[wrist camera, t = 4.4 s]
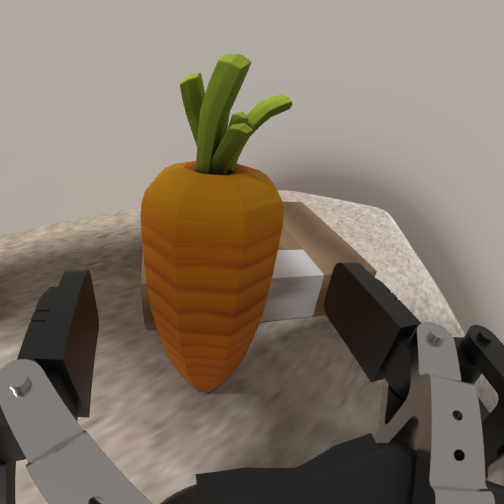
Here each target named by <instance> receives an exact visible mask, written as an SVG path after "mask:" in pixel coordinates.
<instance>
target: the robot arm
mask: <svg viewBox="0 0 504 504" xmlns="http://www.w3.org/2000/svg"><path fill="white" fill-rule="evenodd" d="M324 308H325V313H326V315H327V317H328V318H329V320H330V321H331V323H332V324H333V326H334V327H335V329H336V330H337V332H338V333H339V335H340V336H341V338H342V339H343V341H344V342H345V344H346V345H347V346H348V348H349V349H350V351H351V352H352V354H353V355H354V357H355V358H356V360H357V361H358V363H359V364H360V366H361V367H362V369H363V370H364V372H365V374H366V375H367V377H368V378H369V380H370V381H371V382H374V381H377V380H381V379H384V378H385V379H386V381H387V382H386V384H385V385H384V387H383V394H382V403H381V411H380V418H379V425H378V431H377V434H376V437H375V439H374V438H373V436H372V434H371V433H370V434H367V435H364V436H362V437H359V438H356V439H353V440H350V441H347V442H344V443H341V444H338V445H335V446H333V447H332V448H330V449H329V450H327V451H325V452H324V453H322V454H320V455H319V456H317V457H315V458H314V459H312V460H310V461H308V462H307V463H305V464H303V465H301V466H299V467H296V468H239V469H233V470H226V471H219V472H211V473H202V474H196V485H193V486H190V487H187V488H185V489H183V490H181V491H179V492H176V493H175V494H173V495H172V496H170V497H168V498H167V499H165V500H164V501H163V502H162V503H160V504H504V345H503V344H502V343H501V342H500V341H499V339H498V338H497V337H496V336H495V335H494V334H493V333H492V332H491V331H489V330H488V329H486V328H485V327H482V326H478V325H474V326H471V327H470V328H469V330H468V332H467V333H466V335H465V337H464V338H459V337H452V335H451V334H450V333H449V332H448V331H447V330H446V329H445V328H443V327H442V326H440V325H438V324H435V323H430V322H425V323H422V324H421V323H420V321H419V320H418V319H417V318H416V317H415V316H414V315H413V314H412V313H411V312H410V311H409V310H408V309H407V308H406V306H405V305H404V304H403V303H402V302H401V301H400V300H397V297H396V296H395V295H394V294H393V293H391V292H390V290H389V289H388V288H387V287H386V286H385V285H384V284H383V283H382V282H381V281H379V280H378V279H376V278H375V277H373V276H372V275H371V274H370V273H369V272H368V271H367V270H366V269H365V268H364V267H363V266H362V265H361V264H360V263H358V262H342V263H337V264H336V265H335V267H334V269H333V272H332V276H331V279H330V283H329V286H328V290H327V293H326V296H325V301H324ZM98 330H99V319H98V311H97V306H96V301H95V296H94V291H93V285H92V280H91V275H90V272H89V270H70V271H65V272H64V274H63V277H62V279H61V282H60V284H59V287H50V288H49V289H48V290H47V291H46V292H45V293H44V294H43V295H42V296H41V297H40V299H39V302H38V304H37V307H36V309H35V312H34V314H33V316H32V319H31V322H30V324H29V327H28V330H27V332H26V335H25V338H24V341H23V343H22V346H21V349H20V352H19V355H18V358H17V360H15V361H12V362H10V363H8V364H6V365H5V366H4V367H3V368H2V369H1V370H0V504H15V469H16V461H18V460H24V459H27V461H28V464H27V465H26V467H27V470H28V472H29V474H30V476H31V478H32V479H33V481H34V483H35V484H36V486H37V488H38V489H39V491H40V492H41V494H42V495H43V497H44V498H45V500H46V501H47V503H48V504H153V503H152V502H150V501H149V500H148V499H147V498H146V497H145V496H144V495H143V494H142V493H141V492H140V491H139V490H138V489H137V488H136V487H135V486H134V485H133V484H132V483H131V482H130V481H129V480H128V479H127V478H126V477H125V476H124V474H123V473H122V472H121V471H120V470H119V469H118V468H117V467H116V466H115V465H114V463H113V462H112V461H111V460H110V459H109V458H108V457H107V455H106V454H105V453H104V452H103V451H102V450H101V448H100V447H99V446H98V445H97V443H96V442H95V441H94V440H93V439H92V437H91V436H90V435H89V434H88V433H87V432H86V431H84V430H83V429H82V428H81V426H80V425H79V424H78V422H77V417H89V413H90V399H91V387H92V377H93V368H94V359H95V351H96V344H97V337H98ZM481 374H483V375H484V376H485V378H486V379H487V380H488V381H489V383H490V384H491V385H492V386H493V388H494V389H495V391H496V392H497V394H498V398H499V400H498V404H497V406H496V407H495V408H494V409H493V411H492V412H491V413H489V412H488V410H487V409H486V407H485V406H484V405H483V403H482V402H481V400H480V399H479V398H478V394H477V389H476V387H475V385H474V383H475V382H476V380H477V379H478V378H479V376H480V375H481ZM485 476H486V479H485Z"/></svg>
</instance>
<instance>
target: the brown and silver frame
mask: <svg viewBox="0 0 504 504" xmlns="http://www.w3.org/2000/svg"><path fill="white" fill-rule="evenodd" d="M282 204H283V212H284V217H283V228H282V232H281V237H280V242H279V247H278V252H277V257H276V262H275V267H274V271H273V276H272V280H271V284H270V288H269V292H268V296H267V300H266V304H265V308H264V312H263V315H262V318H261V320H260V322H265V321H275V320H284V319H293V318H302V317H310V316H318V315H326V313H325V308H324V301H325V296H326V293H327V290H328V286H329V283H330V279H331V276H332V272H333V269H334V267H335V265H336V264H337V263H342V262H358V263H360V264H361V265H362V266H363V267H364V268H365V269H366V270H367V271H368V272H369V273H370V274H371V275H372V276H373V277H375V274H376V272H377V271H376V270H375V269H374V268H373V267H372V266H371V265H370V264H369V263H368V262H367V261H366V260H365V259H364V258H362V257H361V256H360V255H359V254H358V253H357V252H356V251H355V250H354V249H353V248H352V247H351V246H350V245H349V244H348V243H346V242H345V241H344V240H343V239H342V238H341V237H340V236H339V235H338V234H337V233H336V232H335V231H333V230H332V229H331V228H330V227H329V226H328V225H327V224H326V223H325V222H323V221H322V220H321V219H320V218H319V217H318V216H317V215H316V214H315V213H313V212H312V211H311V210H310V209H309V208H308V207H307V206H305V205H304V204H303V203H302V202H282ZM141 294H142V303H143V313H144V321H145V329H157V327H156V324H155V321H154V317H153V314H152V311H151V308H150V302H149V295H148V289H147V282H146V274H145V267H144V256H143V252H142V267H141Z"/></svg>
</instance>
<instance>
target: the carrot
mask: <svg viewBox="0 0 504 504" xmlns="http://www.w3.org/2000/svg"><path fill="white" fill-rule="evenodd" d="M250 65H251V61H250V60H248V59H247V58H246V57H244V56H243V55H240V54H225V55H224V56H222V57H221V58H220V59H219V60H218V63H217V65H216V67H215V69H214V72H213V74H212V76H211V79H210V81H209V84H208V87H207V90H206V93H205V92H204V86H203V81H202V76H201V73H196V74H189V75H188V76H187V77H186V78H184V79H183V80H182V81H181V83H180V87H181V94H182V99H183V103H184V107H185V111H186V115H187V118H188V121H189V124H190V127H191V130H192V133H193V136H194V139H195V142H196V145H197V160H196V161H193V162H186V163H178V164H173V165H171V166H169V167H166V168H165V169H164V170H163V171H162V172H161V173H160V174H159V175H158V176H157V177H156V178H155V179H154V181H153V182H152V183H151V184H150V186H149V187H148V188H147V189H146V191H145V193H144V197H143V201H142V204H141V230H142V244H143V256H144V267H145V274H146V282H147V289H148V295H149V302H150V308H151V311H152V314H153V317H154V321H155V324H156V327H157V330H158V333H159V336H160V338H161V341H162V343H163V346H164V348H165V351H166V353H167V356H168V358H169V359H170V360H171V362H172V363H173V365H174V366H175V368H176V369H177V370H178V372H179V373H180V374H181V375H182V376H183V377H184V378H185V379H186V380H187V381H188V382H189V383H190V384H191V385H192V386H193V387H194V388H195V389H197V390H198V391H199V392H206V393H209V392H210V391H212V390H213V389H215V388H216V387H217V386H218V385H220V384H221V383H222V382H223V381H225V380H226V379H227V378H228V377H229V376H230V375H231V374H232V373H233V371H234V370H235V369H236V368H237V367H238V365H239V364H240V363H241V362H242V360H243V358H244V356H245V354H246V352H247V350H248V348H249V346H250V344H251V342H252V339H253V337H254V335H255V332H256V330H257V327H258V325H259V323H260V320H261V318H262V315H263V312H264V308H265V304H266V300H267V296H268V292H269V288H270V284H271V280H272V276H273V271H274V267H275V262H276V257H277V252H278V247H279V242H280V237H281V232H282V228H283V217H284V212H283V204H282V200H281V198H280V196H279V194H278V192H277V190H276V188H275V186H274V184H273V183H272V182H271V180H270V179H269V177H268V176H267V175H265V174H264V173H262V172H261V171H259V170H256V169H253V168H249V167H246V166H243V165H239V164H237V160H238V157H239V155H240V153H241V151H242V149H243V147H244V146H245V144H246V142H247V141H248V139H249V137H250V136H251V135H252V134H253V133H254V132H255V131H256V130H257V129H258V128H259V127H260V126H261V125H262V124H263V123H264V122H265V121H267V120H268V119H269V118H270V117H272V116H274V115H277V114H279V113H281V112H284V111H286V110H288V109H290V107H291V106H292V101H291V100H290V99H289V97H287V96H285V95H283V94H281V95H277V96H273V97H270V98H268V99H266V100H263V101H261V102H259V103H258V104H257V105H256V106H255V107H254V108H253V109H252V110H251V111H250V112H249V113H248V114H247V115H245V114H244V112H239V113H236V114H233V115H232V117H231V121H230V123H229V126H228V121H229V114H230V110H231V108H232V106H233V103H234V101H235V99H236V97H237V95H238V92H239V90H240V88H241V86H242V84H243V81H244V79H245V76H246V74H247V72H248V69H249V67H250ZM227 127H228V130H227Z"/></svg>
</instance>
